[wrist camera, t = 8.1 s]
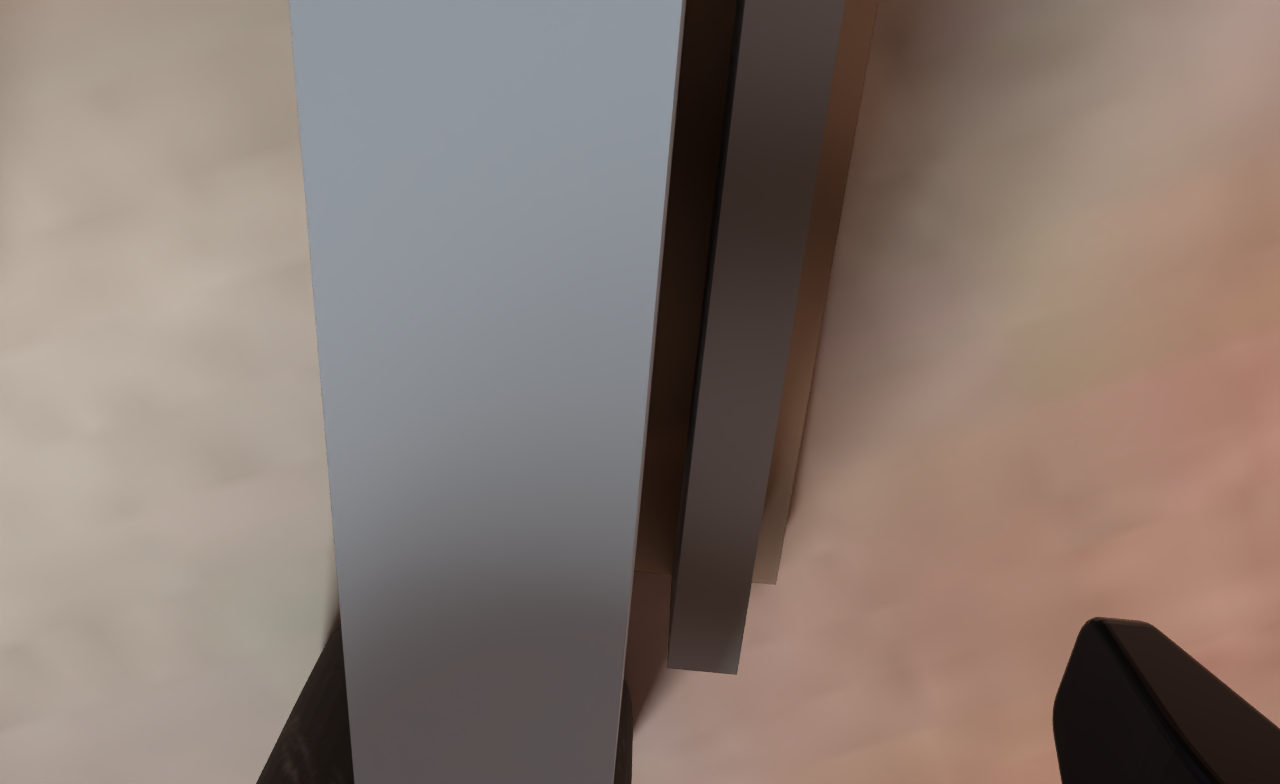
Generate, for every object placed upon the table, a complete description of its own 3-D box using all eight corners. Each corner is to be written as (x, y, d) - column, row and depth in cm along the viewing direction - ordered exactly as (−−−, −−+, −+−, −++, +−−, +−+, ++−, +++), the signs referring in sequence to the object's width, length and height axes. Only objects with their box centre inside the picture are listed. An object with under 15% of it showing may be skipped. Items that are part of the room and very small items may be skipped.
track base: (773, 551, 22) (783, 679, 19) (375, 514, 22) (320, 634, 19) (944, -449, 14) (1009, -509, 11) (315, -501, 14) (204, -575, 11)
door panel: (647, 436, 19) (603, 885, 12) (501, 423, 19) (360, 863, 12) (705, -202, 14) (695, -161, 7) (509, -218, 14) (272, -199, 7)
